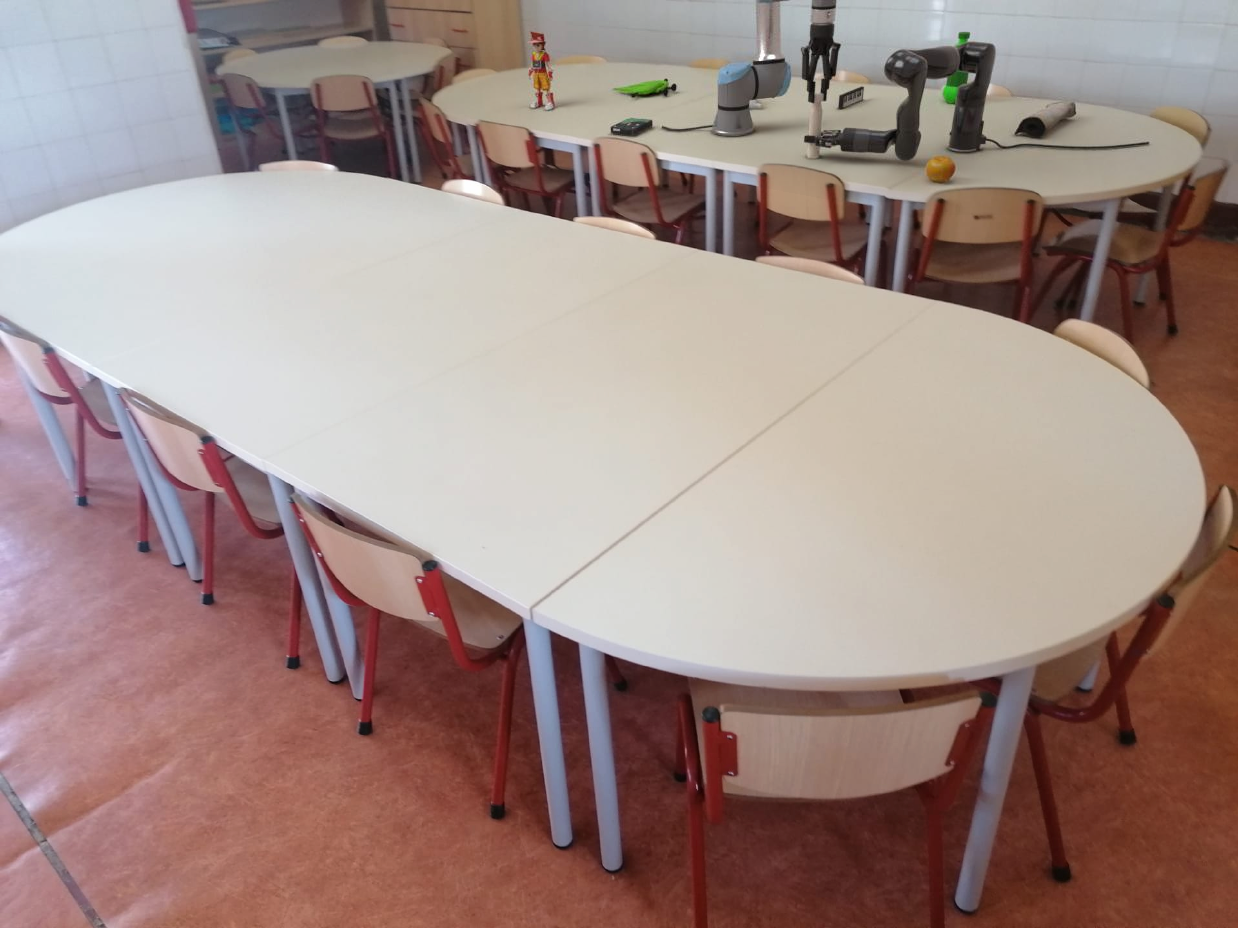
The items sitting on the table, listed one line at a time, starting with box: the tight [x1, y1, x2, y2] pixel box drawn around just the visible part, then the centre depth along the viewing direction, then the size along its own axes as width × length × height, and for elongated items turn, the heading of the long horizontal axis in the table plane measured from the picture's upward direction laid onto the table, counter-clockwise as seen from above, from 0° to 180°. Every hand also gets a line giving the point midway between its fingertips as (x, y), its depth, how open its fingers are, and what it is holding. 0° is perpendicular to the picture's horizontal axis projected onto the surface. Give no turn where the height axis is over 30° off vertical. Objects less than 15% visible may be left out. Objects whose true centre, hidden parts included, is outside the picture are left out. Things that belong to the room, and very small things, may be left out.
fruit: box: [925, 155, 956, 183], centre depth 276 cm, size 8×8×8 cm
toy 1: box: [527, 31, 556, 111], centre depth 374 cm, size 12×9×30 cm
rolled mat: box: [1014, 100, 1077, 139], centre depth 318 cm, size 30×9×10 cm
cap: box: [814, 92, 824, 103], centre depth 294 cm, size 4×4×2 cm
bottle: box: [806, 102, 824, 160], centre depth 300 cm, size 4×4×20 cm
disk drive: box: [610, 117, 653, 136], centre depth 344 cm, size 10×3×15 cm
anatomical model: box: [749, 99, 763, 110], centre depth 365 cm, size 15×10×10 cm
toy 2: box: [612, 78, 677, 99], centre depth 396 cm, size 28×5×30 cm
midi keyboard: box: [837, 85, 865, 110], centre depth 359 cm, size 18×1×5 cm, turn 138°
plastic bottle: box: [942, 31, 971, 104], centre depth 348 cm, size 10×10×25 cm
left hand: (817, 101), depth 295 cm, fingers closed on cap, 4 cm apart
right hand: (806, 137), depth 303 cm, fingers closed on bottle, 4 cm apart
